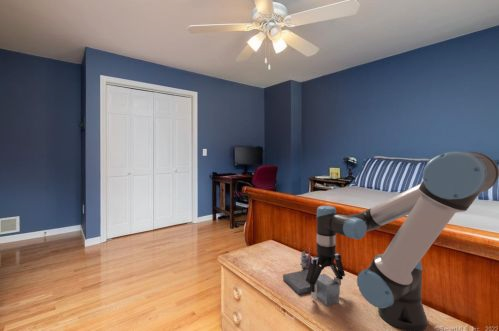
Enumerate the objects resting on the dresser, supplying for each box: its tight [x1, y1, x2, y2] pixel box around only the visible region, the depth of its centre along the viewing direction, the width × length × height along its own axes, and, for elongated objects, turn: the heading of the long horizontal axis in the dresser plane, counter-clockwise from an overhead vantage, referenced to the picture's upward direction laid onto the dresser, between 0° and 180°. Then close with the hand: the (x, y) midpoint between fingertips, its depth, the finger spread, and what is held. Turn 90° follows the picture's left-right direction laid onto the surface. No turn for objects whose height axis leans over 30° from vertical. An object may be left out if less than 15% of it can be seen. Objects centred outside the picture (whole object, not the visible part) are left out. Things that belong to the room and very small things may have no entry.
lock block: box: [316, 273, 340, 307], centre depth 101 cm, size 9×6×8 cm, turn 21°
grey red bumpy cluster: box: [300, 247, 317, 270], centre depth 130 cm, size 11×10×11 cm
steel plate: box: [282, 269, 311, 296], centre depth 113 cm, size 14×14×2 cm
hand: (325, 295), depth 101 cm, fingers open, 11 cm apart
